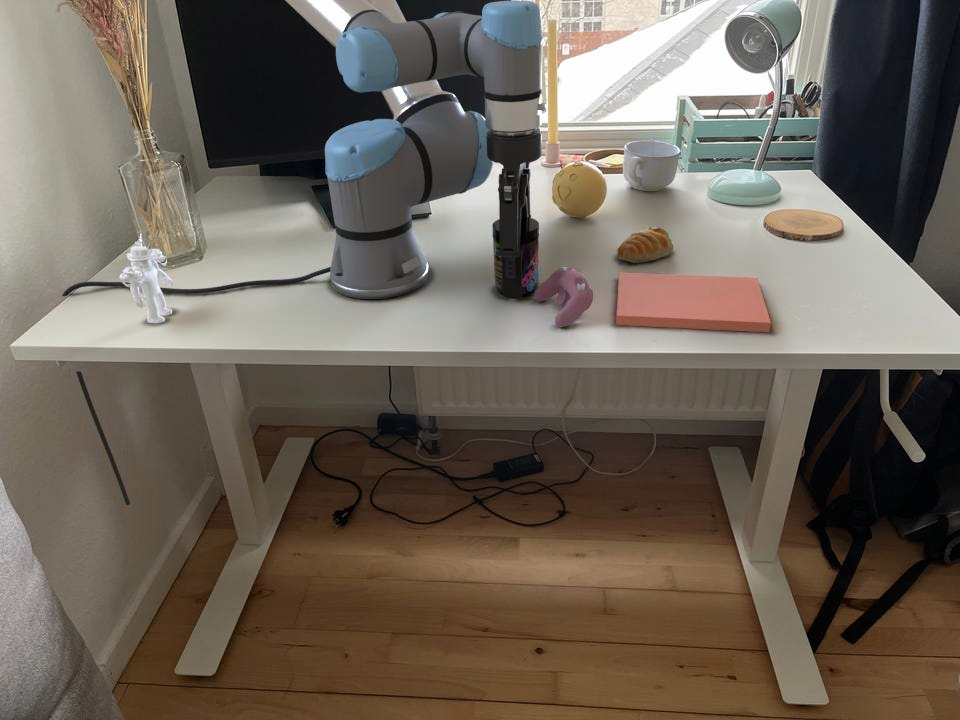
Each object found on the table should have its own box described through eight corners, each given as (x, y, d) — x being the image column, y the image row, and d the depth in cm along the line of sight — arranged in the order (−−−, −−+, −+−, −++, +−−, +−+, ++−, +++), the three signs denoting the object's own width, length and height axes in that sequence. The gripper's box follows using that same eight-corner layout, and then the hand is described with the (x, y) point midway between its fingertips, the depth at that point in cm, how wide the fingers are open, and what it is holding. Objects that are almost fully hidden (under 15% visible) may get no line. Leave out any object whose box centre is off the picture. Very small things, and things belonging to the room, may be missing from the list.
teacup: (643, 174, 158) (646, 136, 154) (687, 185, 151) (691, 145, 147) (600, 191, 150) (602, 151, 146) (645, 203, 143) (648, 162, 139)
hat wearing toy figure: (163, 302, 115) (141, 228, 109) (186, 303, 114) (166, 228, 108) (130, 331, 108) (105, 253, 101) (155, 332, 107) (131, 254, 101)
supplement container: (515, 304, 110) (514, 237, 104) (485, 290, 114) (482, 224, 109) (548, 289, 114) (549, 224, 108) (517, 276, 118) (516, 212, 113)
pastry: (637, 269, 118) (639, 247, 116) (605, 257, 123) (606, 235, 121) (676, 253, 123) (678, 231, 121) (644, 242, 128) (645, 220, 126)
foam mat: (615, 325, 103) (616, 315, 103) (618, 281, 115) (619, 272, 114) (769, 332, 100) (771, 322, 99) (756, 286, 112) (757, 277, 111)
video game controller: (581, 335, 104) (604, 291, 102) (554, 327, 102) (577, 282, 100) (555, 305, 112) (576, 263, 110) (529, 297, 110) (550, 254, 108)
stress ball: (600, 205, 144) (603, 152, 139) (609, 224, 135) (612, 169, 130) (548, 207, 144) (548, 155, 139) (554, 226, 135) (555, 171, 130)
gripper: (532, 151, 92) (533, 316, 104) (549, 110, 110) (548, 255, 121) (472, 150, 93) (479, 313, 105) (498, 110, 111) (502, 254, 123)
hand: (516, 282), depth 113 cm, fingers open, 8 cm apart
